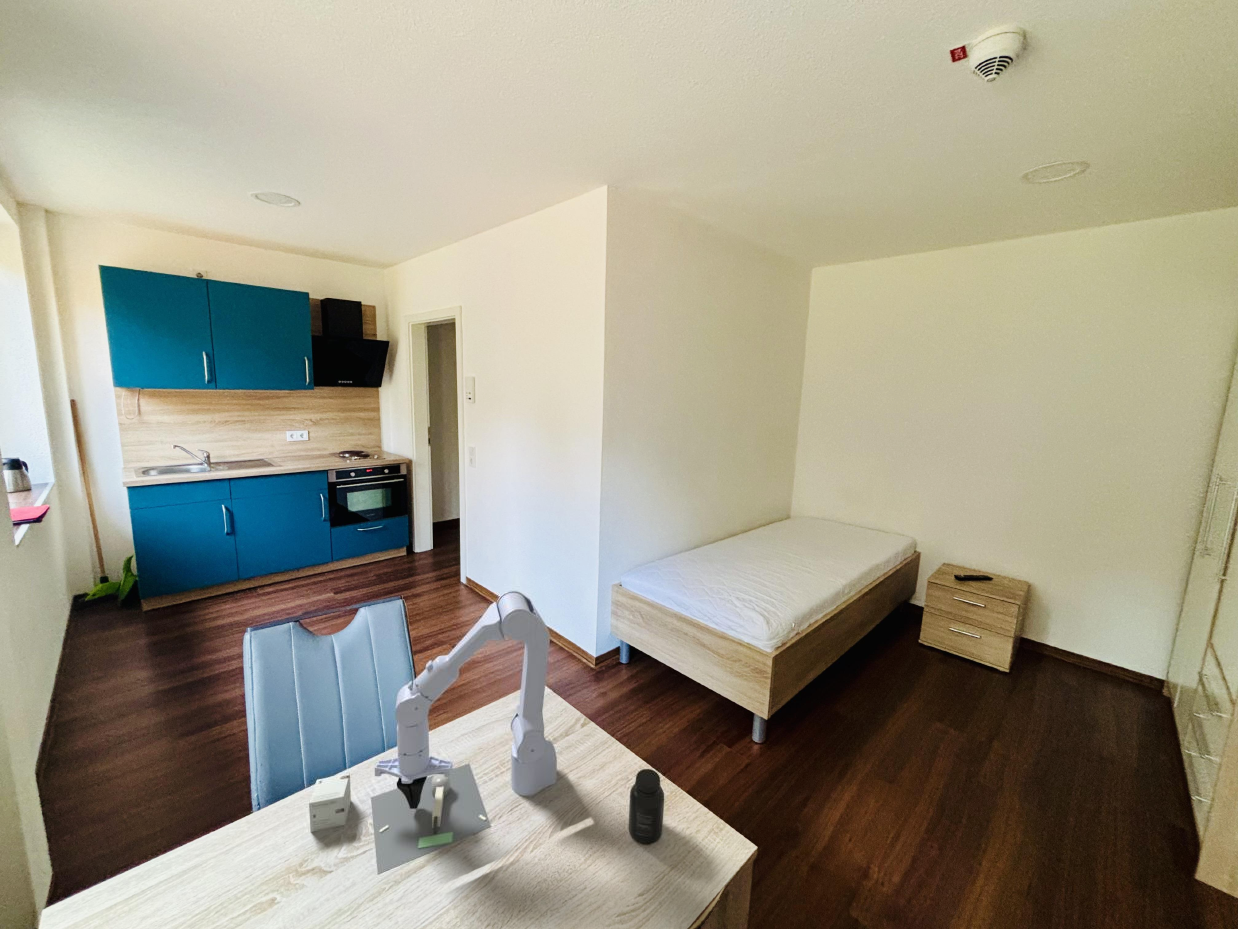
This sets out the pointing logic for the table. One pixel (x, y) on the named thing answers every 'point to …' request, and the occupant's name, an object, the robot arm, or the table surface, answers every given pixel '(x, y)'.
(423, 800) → the tuner board
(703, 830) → the table surface
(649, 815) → the supplement bottle
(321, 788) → the skincare box
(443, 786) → the peg lever
